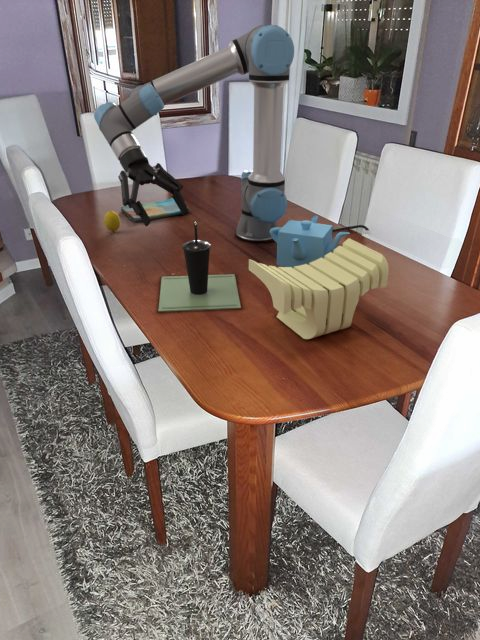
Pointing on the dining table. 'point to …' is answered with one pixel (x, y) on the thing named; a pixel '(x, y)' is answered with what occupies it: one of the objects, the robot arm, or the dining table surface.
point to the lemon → (112, 221)
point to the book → (154, 210)
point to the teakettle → (303, 242)
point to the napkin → (181, 299)
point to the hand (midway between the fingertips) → (167, 218)
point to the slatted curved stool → (323, 288)
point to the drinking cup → (197, 264)
